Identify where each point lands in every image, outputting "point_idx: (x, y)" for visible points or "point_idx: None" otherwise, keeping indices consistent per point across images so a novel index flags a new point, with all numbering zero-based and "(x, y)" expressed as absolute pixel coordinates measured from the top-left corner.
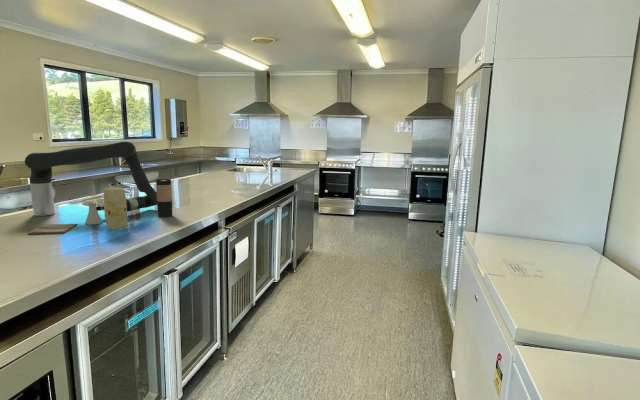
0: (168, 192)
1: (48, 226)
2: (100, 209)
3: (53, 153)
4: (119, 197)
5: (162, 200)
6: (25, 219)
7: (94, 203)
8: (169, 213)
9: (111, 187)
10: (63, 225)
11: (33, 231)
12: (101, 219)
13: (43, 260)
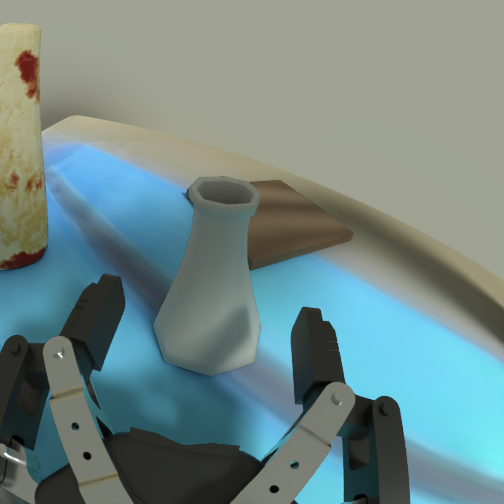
0: None
1: (308, 218)
2: (303, 406)
3: None
4: None
5: None
6: (482, 287)
7: (225, 204)
8: None
9: (3, 28)
10: (275, 232)
11: (277, 184)
12: (169, 344)
13: (97, 133)
